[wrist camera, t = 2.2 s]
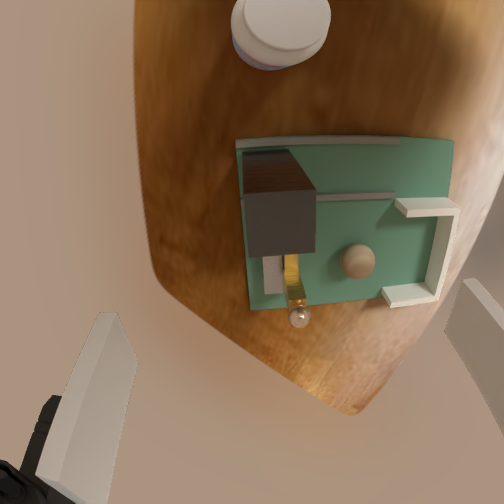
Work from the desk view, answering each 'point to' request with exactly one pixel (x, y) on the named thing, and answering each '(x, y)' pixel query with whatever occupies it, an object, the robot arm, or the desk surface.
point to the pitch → (358, 211)
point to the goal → (439, 253)
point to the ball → (357, 261)
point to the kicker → (280, 223)
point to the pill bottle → (279, 31)
